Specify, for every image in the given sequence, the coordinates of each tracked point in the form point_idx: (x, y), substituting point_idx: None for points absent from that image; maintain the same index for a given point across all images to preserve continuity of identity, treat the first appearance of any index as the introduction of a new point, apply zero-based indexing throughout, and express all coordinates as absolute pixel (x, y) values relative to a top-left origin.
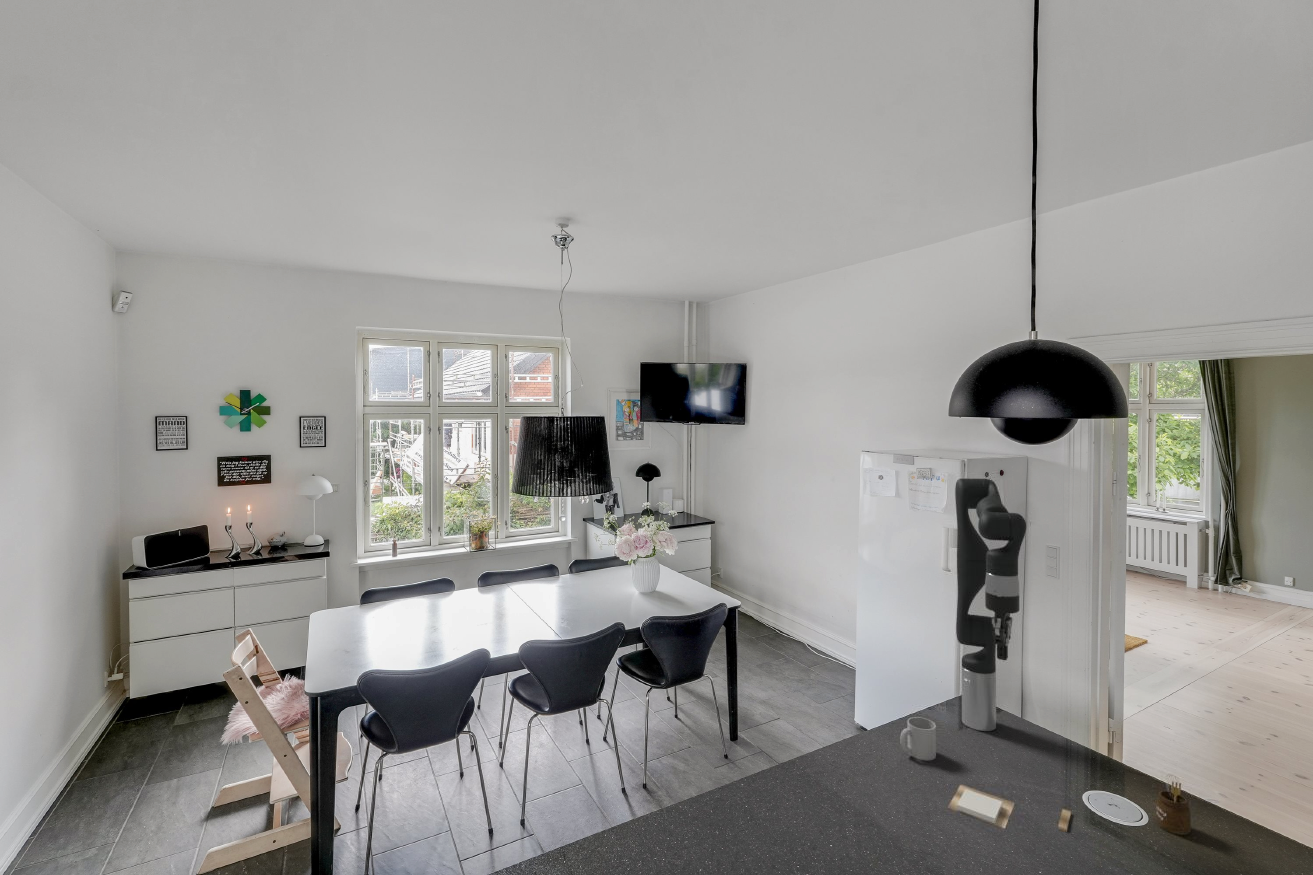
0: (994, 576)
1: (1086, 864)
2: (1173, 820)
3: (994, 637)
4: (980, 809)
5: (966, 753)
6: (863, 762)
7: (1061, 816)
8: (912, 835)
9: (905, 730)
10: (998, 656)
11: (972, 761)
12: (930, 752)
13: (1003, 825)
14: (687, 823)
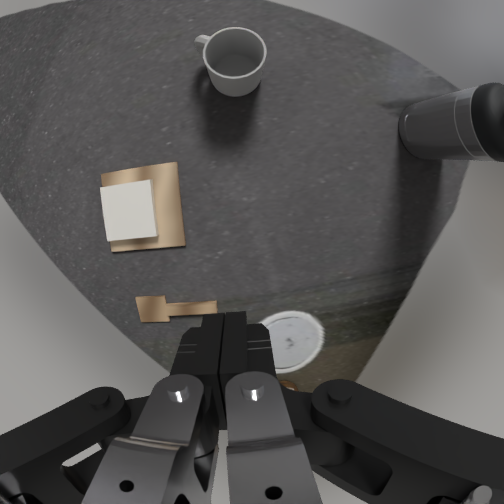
0: None
1: (126, 335)
2: None
3: (20, 437)
4: (112, 218)
5: (301, 133)
6: (143, 28)
7: (193, 305)
8: (33, 170)
9: (200, 39)
10: (185, 333)
11: (279, 149)
12: (221, 89)
13: (116, 248)
14: None
